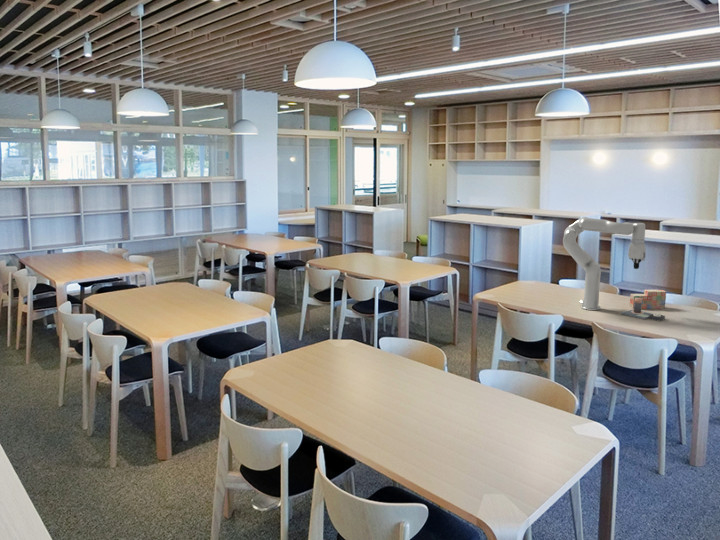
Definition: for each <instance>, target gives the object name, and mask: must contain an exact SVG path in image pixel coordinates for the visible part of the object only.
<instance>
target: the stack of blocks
mask: <svg viewBox="0 0 720 540" xmlns="http://www.w3.org/2000/svg"><path fill="white" fill-rule="evenodd" d="M635 298H641V299H642V306H641V310H649V309H650V310H651V309H653V310H654V309H655V310H659V309H661V310H665V307H666V300H667V291H666V290H663V289H644V291H643V293H630V299H629V307H630V308H632V310H634V299H635Z"/></svg>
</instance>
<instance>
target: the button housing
mask: <svg viewBox="0 0 720 540" xmlns="http://www.w3.org/2000/svg"><path fill="white" fill-rule="evenodd" d="M651 314H652V315H649V318H648V319H649V320H652V319H653V320H654V321H657V320H660V321H663V319H664V320H666V319H665V318H666V315H663V314H661V316H660V317H657V316H653V314H654V313H651Z"/></svg>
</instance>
